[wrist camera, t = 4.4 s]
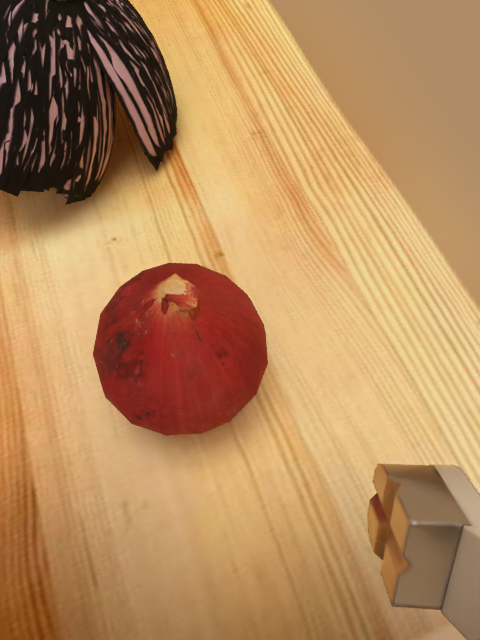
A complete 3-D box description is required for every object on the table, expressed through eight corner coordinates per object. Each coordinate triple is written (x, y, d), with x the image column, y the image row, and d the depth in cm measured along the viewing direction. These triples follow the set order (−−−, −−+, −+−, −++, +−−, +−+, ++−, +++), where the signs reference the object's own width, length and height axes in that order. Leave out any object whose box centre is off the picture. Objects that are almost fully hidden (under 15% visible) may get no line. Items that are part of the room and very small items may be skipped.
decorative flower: (10, 109, 12) (-431, -285, 12) (5, 312, 21) (-241, 96, 21) (270, 12, 21) (26, -211, 21) (187, 184, 30) (17, 32, 30)
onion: (144, 477, 17) (87, 433, 10) (102, 348, 19) (31, 237, 12) (281, 418, 18) (318, 341, 11) (227, 303, 21) (228, 177, 13)
